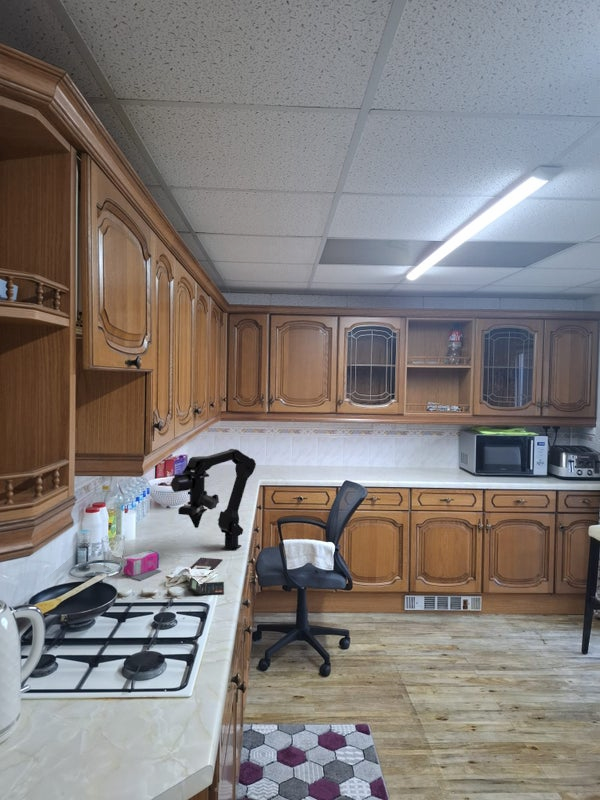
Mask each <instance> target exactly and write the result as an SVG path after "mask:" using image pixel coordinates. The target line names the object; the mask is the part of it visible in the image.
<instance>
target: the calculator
mask: <svg viewBox="0 0 600 800" xmlns="http://www.w3.org/2000/svg"><path fill="white" fill-rule="evenodd" d="M196 580H197V579H196ZM196 580H195V578H193V576H190V578H189V580H188V587H187V591H188V592H189V593H192V594H195V595H196V596H203V597H204V596H216V595H217V596H223V595H224V594H225V585H224V584H225V582H224V581H215V582H213V581H212V582H202V583H203V584H199V583H198V582H197V581H196Z"/></svg>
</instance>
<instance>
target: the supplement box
mask: <svg viewBox="0 0 600 800" xmlns="http://www.w3.org/2000/svg"><path fill="white" fill-rule="evenodd" d="M159 556H160V553H159V552H156V551H154V550H151V549H150V550H146V551H143V552H139V553H136V554H132V555H129V556H128V555H127V556H124V557H123V558H122V574H127V575H129V576H131V577H132V576H135V575H139V574H142V573H145V572H148V571H151V570H154V569H156V570H159V568H160V567H159V564H160V563H159V562H160V561H159V560H160V557H159Z"/></svg>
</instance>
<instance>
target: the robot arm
mask: <svg viewBox="0 0 600 800" xmlns="http://www.w3.org/2000/svg"><path fill="white" fill-rule="evenodd" d="M229 461H231V462H232V463H233V464H235V467H234V468H235V469H234V470H235V474H236V476H235V480H234V483H233V487H232V490H231V494H230V497H229V500H228V503H227V507H226V508H225V510H224V511H220V512H219V517H218V519H217V521H218V522H217V525H218V527H219V529H220V532H221V533H224V546H222V547H221V549H222V550H227V549H228V551H236V550H238V549H240V548H241V547H242V544H239V536H241V535H243V533H244V528H242V527H241V525H240V524H239V523H240V522H239V521H240V516H239V509H240V506H241V503H242V499H243V496H244V492H245V489H246V485H247V481H248V479H249V478H250V477H252V475H253V473H254V470H255V469H256V465H257V463H256V461H255V459H254V458H252V457H251V458H250V457H249V456H248V455H246V454H244V453H242V451H240V450H239V449H237V448H236V449H235V448H230V449H229V448H228V450H225V451H221V452H217V453H214V454H211V455H206V456H205V455H204V456H203V455H202V456H200V455H199V456H192V457H190V458H189V460H188V462H187V464H186V466H185V468H184V469H183V470H182V473H175V474H174V475H173V476H174V477H172V480H171V482H170V487H171V489H172V491H173V492H174V493H178V492H185V491H186V492H187V495H189V501H187V504H183V505H182V506H180V507H178V508H177V509H178V512H177V513H178V515H184V516H189V518H190V520H191V522H192V525H193V526H194V528H195V529H198V528H199V526H200V523H201V521H202V516H203V514H204V513H205V512H206V511H208V510H214V509H216V508H217V506H218V504H219V503H220V501H219V500H220V499H219V494H216V493H215V494H212V495H208V492H207V490H205V487H206V486H205V482H206V481H205V479H206V478H208V477H210V474H209V473H207V471H208V470H210V469H211V468H212V467H213V466H216V465H219V464H222V463H226V462H229Z"/></svg>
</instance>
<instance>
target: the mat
mask: <svg viewBox="0 0 600 800" xmlns="http://www.w3.org/2000/svg"><path fill="white" fill-rule="evenodd" d="M161 572H162V570H159V569H154V570H151V571H148V572H145V573H142V574H139V575H135V576H132V577H131V576H129V575H127V574H125V573H122V575H121V577H124V578H129V579H132V580H136V581H140V582H141V581H144V580H147V579H148V578H150V577H153V576H154V575H157V574H160V573H161Z"/></svg>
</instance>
